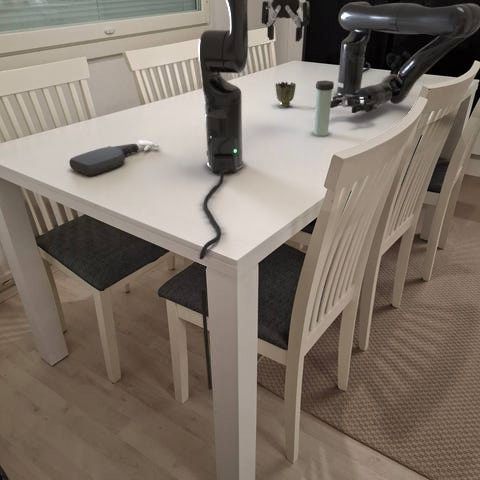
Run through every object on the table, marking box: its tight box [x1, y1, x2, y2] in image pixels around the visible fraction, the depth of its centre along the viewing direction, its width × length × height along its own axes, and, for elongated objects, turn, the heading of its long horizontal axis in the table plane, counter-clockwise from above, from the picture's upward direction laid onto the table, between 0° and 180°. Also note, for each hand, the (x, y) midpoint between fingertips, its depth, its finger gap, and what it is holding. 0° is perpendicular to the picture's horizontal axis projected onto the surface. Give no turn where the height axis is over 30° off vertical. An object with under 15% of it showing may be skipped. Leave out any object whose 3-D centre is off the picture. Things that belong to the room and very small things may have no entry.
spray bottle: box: [68, 139, 160, 177], centre depth 124 cm, size 3×11×24 cm
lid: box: [315, 80, 335, 90], centre depth 133 cm, size 5×5×2 cm
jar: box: [313, 89, 333, 137], centre depth 137 cm, size 4×4×15 cm
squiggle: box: [385, 51, 412, 81], centre depth 198 cm, size 11×10×15 cm
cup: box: [275, 81, 297, 108], centre depth 166 cm, size 8×7×8 cm
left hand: (284, 40), depth 134 cm, fingers open, 8 cm apart
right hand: (341, 107), depth 143 cm, fingers open, 8 cm apart
